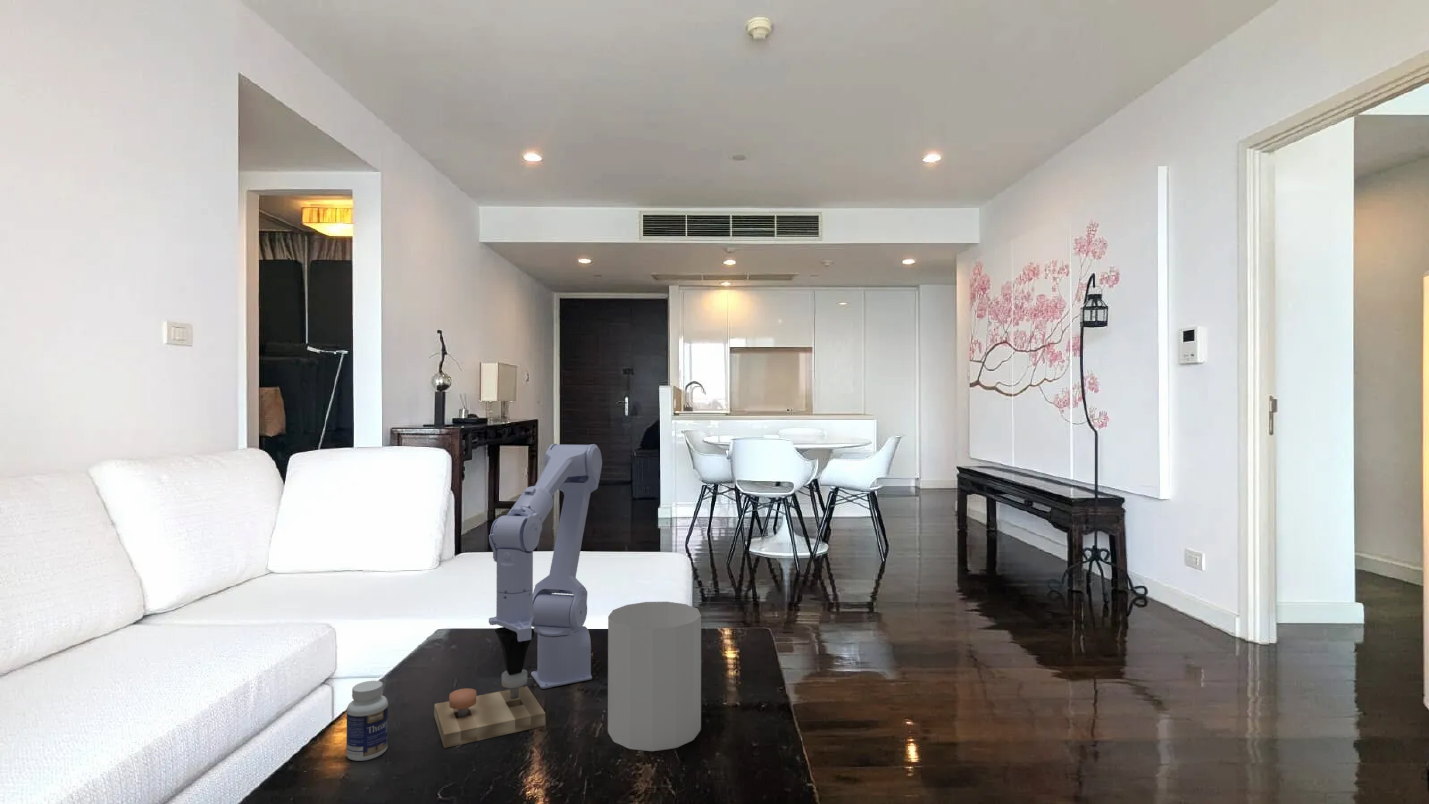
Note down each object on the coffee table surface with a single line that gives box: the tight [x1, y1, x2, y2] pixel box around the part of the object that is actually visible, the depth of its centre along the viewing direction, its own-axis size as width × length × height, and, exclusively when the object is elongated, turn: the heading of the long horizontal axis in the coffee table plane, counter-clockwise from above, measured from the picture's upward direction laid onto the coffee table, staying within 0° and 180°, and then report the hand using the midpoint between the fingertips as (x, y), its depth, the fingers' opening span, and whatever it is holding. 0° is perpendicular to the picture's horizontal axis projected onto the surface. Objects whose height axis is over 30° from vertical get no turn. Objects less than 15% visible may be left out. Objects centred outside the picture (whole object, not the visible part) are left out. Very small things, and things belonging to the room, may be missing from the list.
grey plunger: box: [501, 668, 528, 699], centre depth 112 cm, size 4×4×4 cm
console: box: [433, 685, 546, 749], centre depth 110 cm, size 15×12×2 cm
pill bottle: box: [345, 680, 389, 762], centre depth 100 cm, size 5×5×10 cm
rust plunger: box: [448, 687, 477, 718], centre depth 108 cm, size 4×4×4 cm
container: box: [607, 601, 702, 752], centre depth 108 cm, size 14×14×18 cm
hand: (514, 672), depth 112 cm, fingers closed
